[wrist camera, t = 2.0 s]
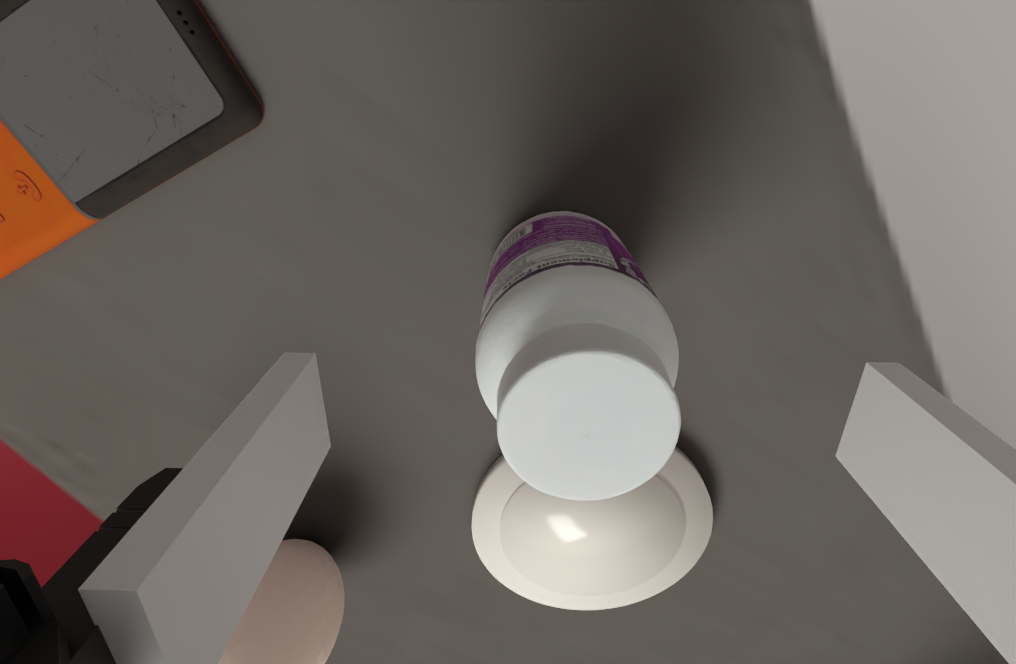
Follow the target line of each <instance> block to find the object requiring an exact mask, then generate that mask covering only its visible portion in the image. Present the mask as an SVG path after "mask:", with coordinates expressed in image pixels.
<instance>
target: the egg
mask: <svg viewBox="0 0 1016 664" xmlns="http://www.w3.org/2000/svg"><path fill="white" fill-rule="evenodd" d="M344 603H345V598H344V586H343V582H342V578H341V574H340V571H339V568H338V566H337V564H336V563H335V561H334V559H333V558H332V556H331V555H330V554H329V553H328V552H327V551H326V550H325V549H324V548H323V547H321V546H319V545H318V544H316V543H314V542H312V541H308V540H301V539H289V540H284V541H281V543H280V545H279V547H278V549H277V551H276V553H275V555H274V557H273V559H272V561H271V563H270V564H269V566H268V568H267V570H266V572H265V574H264V576H263V578H262V580H261V582H260V584H259V586H258V588H257V590H256V591H255V593H254V595H253V597H252V599H251V601H250V603H249V605H248V607H247V609H246V611H245V613H244V615H243V616H242V618H241V620H240V622H239V624H238V626H237V628H236V630H235V632H234V634H233V636H232V638H231V640H230V641H229V643H228V645H227V647H226V649H225V651H224V653H223V655H222V657H221V659H220V661H219V663H218V664H325V662H326V660H327V659H328V657H329V655H330V653H331V651H332V649H333V647H334V644H335V641H336V638H337V635H338V632H339V629H340V626H341V622H342V618H343V612H344Z"/></svg>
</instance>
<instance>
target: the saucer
mask: <svg viewBox="0 0 1016 664" xmlns="http://www.w3.org/2000/svg"><path fill="white" fill-rule="evenodd" d="M712 524H713V508H712V504H711V499H710V496H709V494H708V491H707V489H706V486H705V484H704V482H703V480H702V478H701V475H700V473H699V472H698V470H697V469H696V467H695V465H694V464H693V462H692V461H691V460H690V459H689V458H688V457H687V456H686V455H685V454H684V453H683V452H682V451H681V450H680V449H679V448H677V447H676V446H675V448H674V451H673V453H672V455H671V456H670V458H669V459H668V461H667V462H666V463H665V465H664V466H663V467H662V468H661V469H660V470H659V471H658V472H657V473H656V474H655V475H654V476H653V477H652V478H650V479H649V480H648V481H646V482H645V483H643V484H642V485H640V486H638V487H636V488H635V489H633V490H631V491H629V492H626V493H624V494H621V495H618V496H614V497H611V498H607V499H601V500H586V501H583V500H570V499H564V498H560V497H556V496H553V495H549V494H546V493H544V492H542V491H539V490H537V489H536V488H534V487H532V486H530V485H529V484H528V483H527V482H525V481H524V480H523V479H522V478H521V477H519V476H518V475H517V474H516V473H515V471H514V470H513V469H512V468H511V467H510V465H509V464H508V463H507V461H506V459H505V458H504V455H503V454H502V455H501V456H500V457H499V458H498V459H497V460H496V461H495V462H494V463H493V465H492V466H491V467H490V468H489V469H488V471H487V472H486V474H485V475H484V477H483V479H482V480H481V482H480V485H479V487H478V489H477V492H476V496H475V500H474V505H473V515H472V535H473V541H474V544H475V548H476V551H477V553H478V555H479V557H480V559H481V561H482V562H483V564H484V565H485V566H486V568H487V569H488V571H489V572H490V573H491V574H492V575H493V576H494V577H495V578H496V579H497V580H498V581H500V582H501V583H502V584H503V585H505V586H506V587H507V588H509V589H511V590H512V591H514V592H515V593H517V594H519V595H521V596H523V597H525V598H527V599H530V600H532V601H535V602H538V603H541V604H544V605H548V606H552V607H557V608H564V609H572V610H601V609H610V608H616V607H620V606H625V605H629V604H632V603H636V602H639V601H642V600H644V599H647V598H649V597H652V596H654V595H656V594H658V593H660V592H661V591H663V590H665V589H667V588H668V587H670V586H671V585H673V584H674V583H676V582H677V581H678V580H679V579H681V578H682V577H683V576H684V575H685V574H686V573H687V572H688V571H689V570H690V569H691V568H692V567H693V566H694V565H695V564H696V562H697V561H698V560H699V558H700V557H701V555H702V554H703V552H704V550H705V548H706V546H707V544H708V541H709V538H710V535H711V531H712Z"/></svg>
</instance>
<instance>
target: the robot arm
mask: <svg viewBox="0 0 1016 664" xmlns="http://www.w3.org/2000/svg"><path fill="white" fill-rule="evenodd" d="M330 447H331V444H330V438H329V432H328V426H327V420H326V414H325V408H324V401H323V395H322V389H321V383H320V377H319V371H318V365H317V359H316V353H283V354H282V356H281V357H280V358H279V359H278V360H277V361H276V362H275V364H274V365H273V366H272V367H271V368H270V369H269V371H268V372H267V373H266V374H265V375H264V376H263V377H262V379H261V380H260V381H259V382H258V383H257V384H256V385H255V387H254V388H253V389H252V390H251V391H250V392H249V393H248V395H247V396H246V397H245V398H244V399H243V400H242V402H241V403H240V404H239V405H238V406H237V407H236V408H235V410H234V411H233V412H232V413H231V414H230V415H229V416H228V418H227V419H226V420H225V421H224V422H223V423H222V425H221V426H220V427H219V428H218V429H217V430H216V431H215V433H214V434H213V435H212V436H211V437H210V438H209V439H208V441H207V442H206V443H205V444H204V445H203V446H202V447H201V449H200V450H199V451H198V452H197V453H196V454H195V456H194V457H193V458H192V459H191V460H190V461H189V462H188V464H187V465H186V466H185V467H184V468H165V469H164V470H162V471H160V472H159V473H157V474H156V475H154V476H153V477H151V478H150V479H148V480H147V481H145V482H143V483H142V484H140V485H139V486H137V487H136V488H135V490H134V491H133V492H132V493H131V494H130V495H129V496H128V497H127V498H126V499H125V500H124V501H123V502H122V503H121V504H120V505H119V506H118V508H117V511H116V513H112V514H111V515H110V516H109V517H108V518H107V519H106V520H105V521H104V522H103V523H102V525H101V526H100V529H99V531H95V532H94V533H93V534H92V535H91V536H90V537H89V538H88V539H87V540H86V541H85V542H84V544H83V545H82V546H81V547H80V548H79V549H78V550H77V551H76V552H75V553H74V554H73V555H72V556H71V557H70V558H69V559H68V561H67V562H66V563H65V564H64V565H63V566H62V567H61V568H60V569H59V570H58V571H57V572H56V573H55V574H54V575H53V576H52V578H50V580H49V581H48V582H47V583H46V584H45V585H44V586H43V587H42V588H41V586H40V584H39V583H38V581H37V579H36V577H35V575H34V573H33V571H32V569H31V567H30V565H29V564H27V563H24V562H21V561H18V560H15V559H13V560H0V664H218V663H219V661H220V659H221V657H222V655H223V653H224V651H225V649H226V647H227V645H228V643H229V641H230V640H231V638H232V636H233V634H234V632H235V630H236V628H237V626H238V624H239V622H240V620H241V618H242V616H243V615H244V613H245V611H246V609H247V607H248V605H249V603H250V601H251V599H252V597H253V595H254V593H255V591H256V590H257V588H258V586H259V584H260V582H261V580H262V578H263V576H264V574H265V572H266V570H267V568H268V566H269V564H270V563H271V561H272V559H273V557H274V555H275V553H276V551H277V549H278V547H279V545H280V543H281V541H282V539H283V538H284V536H285V534H286V532H287V530H288V528H289V526H290V524H291V522H292V520H293V518H294V516H295V514H296V513H297V511H298V509H299V507H300V505H301V503H302V501H303V499H304V497H305V495H306V493H307V491H308V489H309V488H310V486H311V484H312V482H313V480H314V478H315V476H316V474H317V472H318V470H319V468H320V466H321V464H322V463H323V461H324V459H325V457H326V455H327V453H328V451H329V449H330ZM836 458H837V459H838V460H839V461H840V462H841V464H842V465H843V466H844V467H845V468H846V469H847V471H848V472H849V473H850V474H851V475H852V477H853V478H854V479H855V480H856V481H857V483H858V484H859V485H860V486H861V487H862V489H863V490H864V491H865V492H866V493H867V495H868V496H869V497H870V498H871V499H872V501H873V502H874V503H875V504H876V505H877V507H878V508H879V509H880V510H881V511H882V513H883V514H884V515H885V516H886V517H887V519H888V520H889V521H890V522H891V523H892V525H893V526H894V527H895V528H896V529H897V530H898V532H899V533H900V534H901V535H902V536H903V538H904V539H905V540H906V541H907V542H908V544H909V545H910V546H911V547H912V548H913V550H914V551H915V552H916V553H917V554H918V556H919V557H920V558H921V559H922V560H923V562H924V563H925V564H926V565H927V566H928V568H929V569H930V570H931V571H932V572H933V574H934V575H935V576H936V577H937V578H938V580H939V581H940V582H941V583H942V584H943V586H944V587H945V588H946V589H947V590H948V591H949V593H950V594H951V595H952V596H953V597H954V599H955V600H956V601H957V602H958V603H959V605H960V606H961V607H962V608H963V609H964V611H965V612H966V613H967V614H968V615H969V617H970V618H971V619H972V620H973V621H974V623H975V624H976V625H977V626H978V627H979V629H980V630H981V631H982V632H983V633H984V635H985V636H986V637H987V638H988V639H989V641H990V642H991V643H992V644H993V645H994V647H995V648H996V649H997V650H998V651H999V653H1000V654H1001V655H1002V656H1003V657H1004V658H1005V660H1006V661H1007V662H1008V663H1009V664H1016V450H1015V449H1014V448H1013V447H1011V446H1010V445H1009V444H1007V443H1006V442H1005V441H1003V440H1002V439H1001V438H999V437H998V436H997V435H995V434H994V433H992V432H991V431H990V430H988V429H987V428H986V427H984V426H983V425H982V424H980V423H979V422H978V421H976V420H975V419H974V418H972V417H971V416H970V415H968V414H967V413H965V412H964V411H963V410H962V409H960V408H959V407H958V406H956V405H955V404H954V403H952V402H951V401H950V400H948V399H947V398H946V397H944V396H943V395H942V394H940V393H939V392H938V391H936V390H935V389H934V388H932V387H931V386H930V385H928V384H927V383H926V382H924V381H923V380H922V379H920V378H919V377H918V376H916V375H915V374H914V373H912V372H911V371H910V370H908V369H907V368H905V367H904V366H903V365H901V364H900V363H878V362H866V365H865V368H864V371H863V374H862V377H861V380H860V383H859V387H858V390H857V393H856V396H855V399H854V402H853V405H852V408H851V411H850V414H849V417H848V420H847V423H846V426H845V429H844V432H843V435H842V438H841V441H840V444H839V447H838V450H837V453H836Z"/></svg>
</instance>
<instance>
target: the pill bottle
mask: <svg viewBox="0 0 1016 664" xmlns="http://www.w3.org/2000/svg"><path fill="white" fill-rule="evenodd" d="M678 364H679V352H678V344H677V339H676V335H675V332H674V329H673V326H672V324H671V321H670V318H669V316H668V314H667V312H666V310H665V309H664V307H663V306H662V304H661V303H660V301H659V300H658V298H657V297H656V295H655V293H654V292H653V290H652V289H651V287H650V285H649V284H648V282H647V281H646V279H645V277H644V276H643V274H642V273H641V271H640V269H639V268H638V266H637V264H636V263H635V261H634V260H633V258H632V256H631V254H630V252H629V251H628V250H627V248H626V247H625V246H624V244H623V243H622V241H621V240H620V239H619V238H618V236H617V235H616V234H615V233H614V232H613V231H612V230H611V229H610V228H608V227H607V226H606V225H605V224H603V223H602V222H600V221H598V220H596V219H594V218H592V217H590V216H587V215H584V214H581V213H575V212H570V211H559V212H548V213H544V214H541V215H537V216H535V217H532V218H530V219H528V220H526V221H525V222H523V223H521V224H519V225H518V226H516V227H515V228H514V229H513V230H512V231H510V232H509V233H508V235H507V236H506V237H505V238H504V239H503V240H502V242H501V243H500V245H499V246H498V248H497V250H496V252H495V254H494V256H493V258H492V261H491V264H490V269H489V274H488V277H487V282H486V290H485V296H484V301H483V308H482V314H481V320H480V327H479V333H478V338H477V343H476V375H477V381H478V386H479V389H480V392H481V394H482V397H483V399H484V401H485V403H486V405H487V407H488V408H489V410H490V412H491V413H492V414H493V416H494V417H495V418H496V419H497V436H498V442H499V445H500V448H501V451H502V453H503V455H504V458H505V459H506V461H507V463H508V464H509V465H510V467H511V468H512V469H513V470H514V471H515V473H516V474H517V475H518V476H519V477H521V478H522V479H523V480H524V481H525V482H527V483H528V484H529V485H530V486H532V487H534V488H536V489H537V490H539V491H542V492H544V493H546V494H549V495H553V496H556V497H560V498H564V499H570V500H583V501H586V500H601V499H607V498H611V497H614V496H618V495H621V494H624V493H626V492H629V491H631V490H633V489H635V488H636V487H638V486H640V485H642V484H643V483H645V482H646V481H648V480H649V479H650V478H652V477H653V476H654V475H655V474H656V473H657V472H658V471H659V470H660V469H661V468H662V467H663V466H664V465H665V463H666V462H667V461H668V459H669V458H670V456H671V455H672V453H673V451H674V448H675V446H676V443H677V441H678V437H679V432H680V427H681V413H680V407H679V403H678V399H677V396H676V393H675V391H674V385H675V381H676V378H677V373H678Z"/></svg>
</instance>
